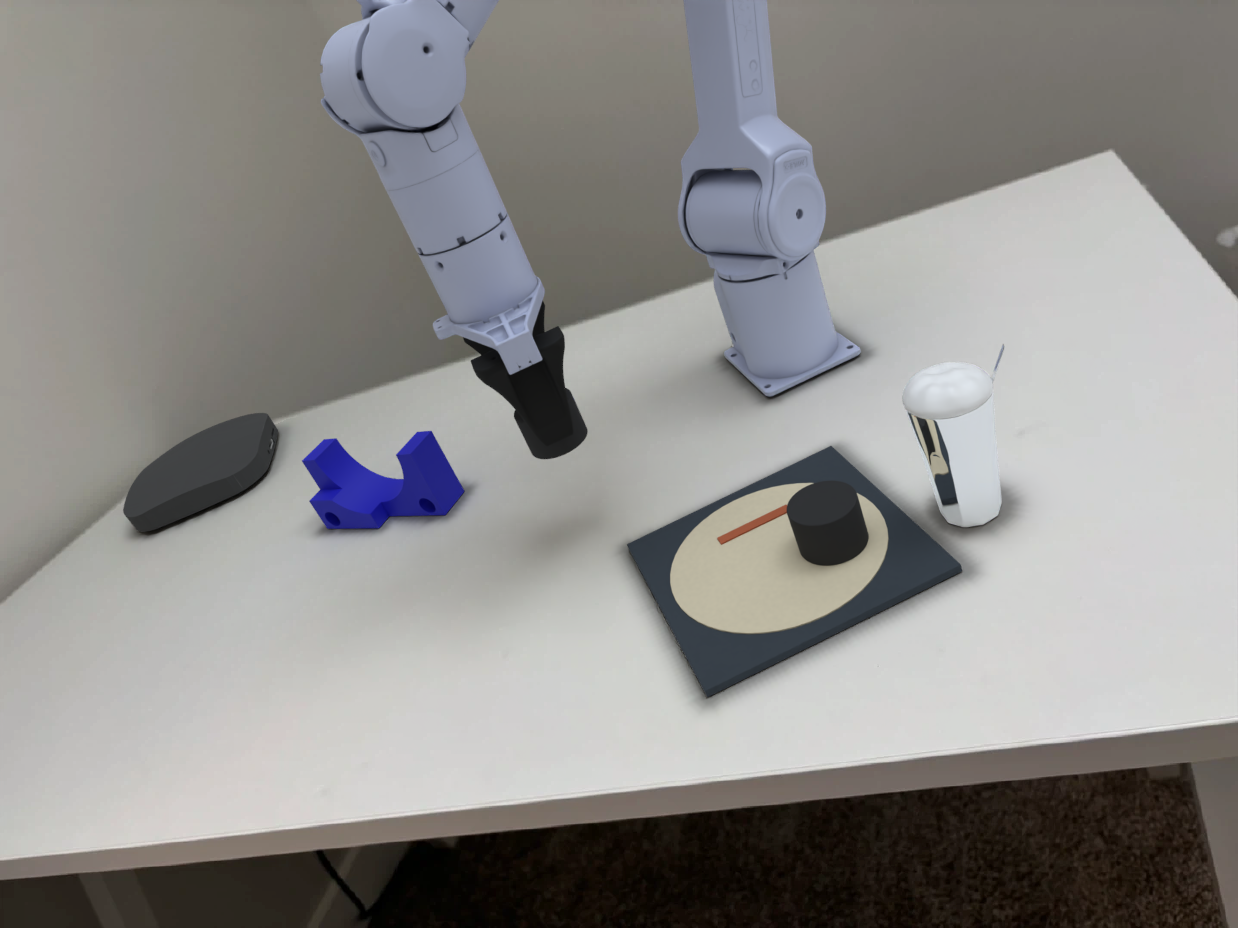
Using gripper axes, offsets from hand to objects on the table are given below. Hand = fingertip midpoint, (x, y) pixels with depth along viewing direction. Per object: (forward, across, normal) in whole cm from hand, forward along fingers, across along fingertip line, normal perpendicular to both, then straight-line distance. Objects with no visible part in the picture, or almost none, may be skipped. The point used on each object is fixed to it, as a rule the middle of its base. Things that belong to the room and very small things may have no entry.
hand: (551, 423), depth 62 cm
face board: (+8, +12, +9) cm, 17 cm away
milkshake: (+9, +16, +20) cm, 26 cm away
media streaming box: (+9, -39, -34) cm, 52 cm away
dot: (+8, +14, +12) cm, 20 cm away
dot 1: (+1, 0, 0) cm, 1 cm away
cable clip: (+9, -15, -15) cm, 22 cm away
